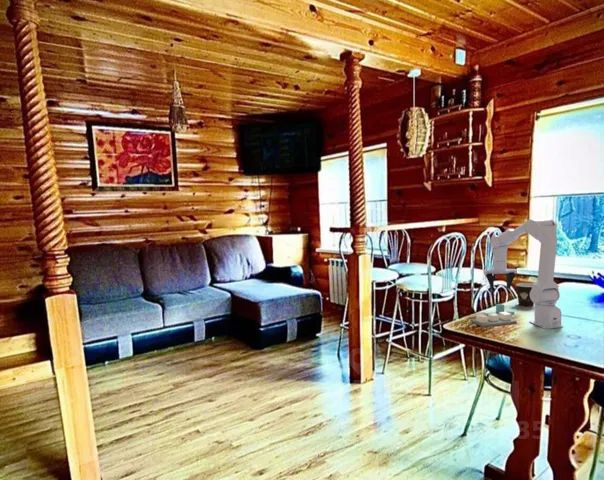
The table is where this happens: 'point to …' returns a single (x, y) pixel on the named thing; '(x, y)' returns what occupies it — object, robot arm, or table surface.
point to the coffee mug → (524, 294)
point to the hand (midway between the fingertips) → (500, 288)
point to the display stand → (493, 319)
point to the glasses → (500, 309)
